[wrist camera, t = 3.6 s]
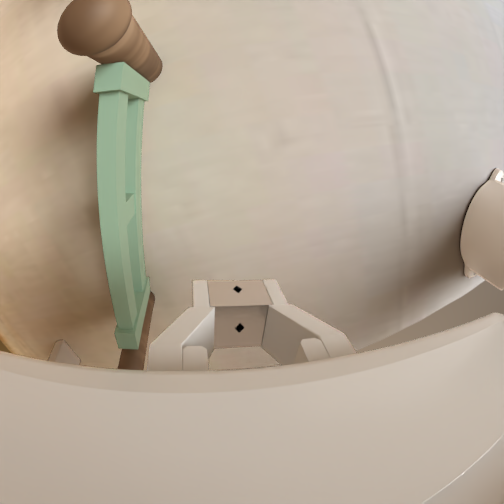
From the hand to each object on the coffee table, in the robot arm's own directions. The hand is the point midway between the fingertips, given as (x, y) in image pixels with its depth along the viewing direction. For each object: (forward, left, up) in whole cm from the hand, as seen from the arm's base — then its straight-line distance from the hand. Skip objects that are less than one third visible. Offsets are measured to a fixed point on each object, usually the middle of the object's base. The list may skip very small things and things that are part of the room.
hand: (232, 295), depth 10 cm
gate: (+7, 0, -14) cm, 16 cm away
